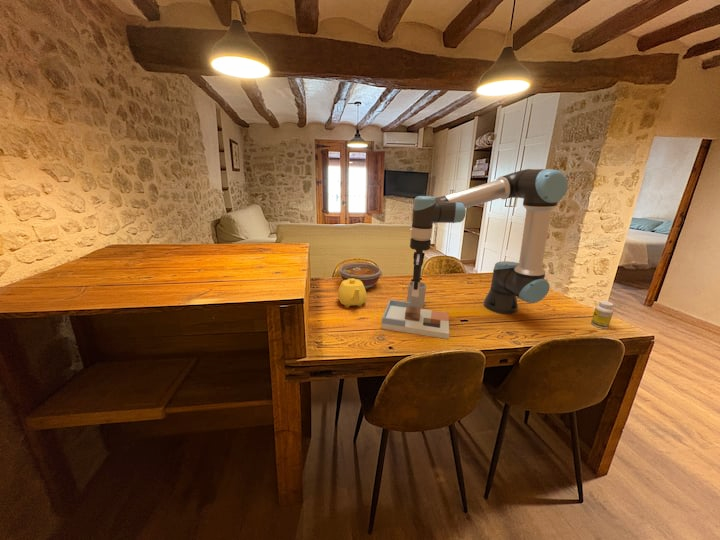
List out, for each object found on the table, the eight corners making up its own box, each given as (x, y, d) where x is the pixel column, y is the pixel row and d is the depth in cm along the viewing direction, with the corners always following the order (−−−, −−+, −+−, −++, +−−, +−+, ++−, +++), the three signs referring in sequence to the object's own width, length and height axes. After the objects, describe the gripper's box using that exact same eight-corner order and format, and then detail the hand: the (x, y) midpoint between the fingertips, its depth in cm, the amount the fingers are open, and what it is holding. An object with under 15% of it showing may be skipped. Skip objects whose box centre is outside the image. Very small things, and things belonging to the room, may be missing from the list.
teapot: (361, 295, 157) (361, 272, 152) (371, 312, 138) (373, 287, 134) (335, 297, 153) (335, 273, 149) (342, 315, 135) (343, 289, 131)
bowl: (335, 280, 176) (335, 264, 173) (372, 277, 183) (372, 261, 180) (345, 295, 156) (345, 277, 153) (386, 291, 162) (387, 274, 159)
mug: (425, 308, 143) (428, 287, 140) (408, 308, 143) (410, 287, 140) (420, 298, 155) (422, 278, 151) (404, 298, 154) (405, 278, 151)
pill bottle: (591, 320, 137) (598, 298, 133) (608, 325, 133) (615, 302, 129) (590, 325, 132) (597, 302, 128) (607, 330, 128) (615, 307, 125)
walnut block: (420, 315, 132) (420, 307, 131) (418, 321, 126) (419, 313, 125) (406, 313, 133) (407, 305, 132) (404, 319, 128) (405, 311, 126)
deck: (448, 317, 136) (449, 307, 134) (448, 339, 118) (450, 328, 117) (389, 309, 142) (389, 299, 140) (381, 328, 125) (382, 317, 123)
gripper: (412, 234, 119) (407, 288, 127) (408, 241, 107) (403, 301, 115) (431, 235, 118) (425, 291, 125) (430, 243, 106) (423, 303, 113)
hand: (415, 295), depth 120 cm, fingers closed
